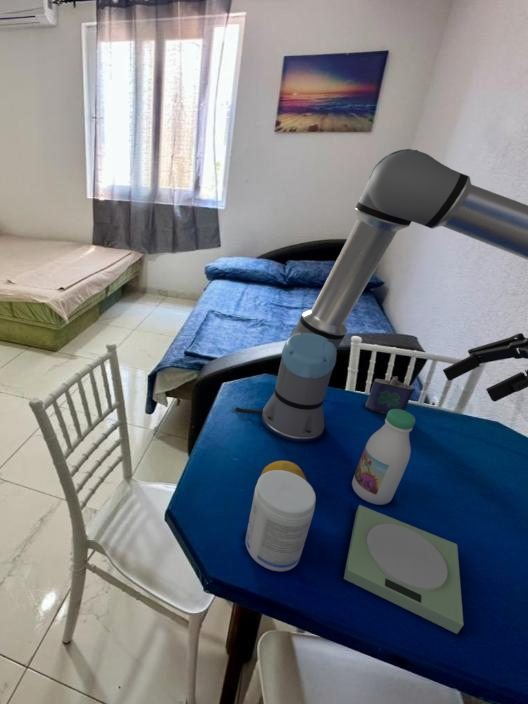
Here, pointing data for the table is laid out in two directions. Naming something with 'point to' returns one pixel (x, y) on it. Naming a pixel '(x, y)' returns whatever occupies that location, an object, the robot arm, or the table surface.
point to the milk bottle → (384, 459)
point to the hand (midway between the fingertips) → (466, 384)
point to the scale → (406, 567)
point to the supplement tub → (279, 519)
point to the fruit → (284, 468)
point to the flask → (388, 395)
